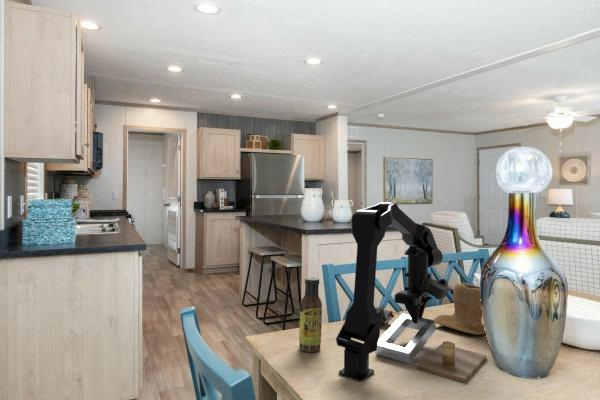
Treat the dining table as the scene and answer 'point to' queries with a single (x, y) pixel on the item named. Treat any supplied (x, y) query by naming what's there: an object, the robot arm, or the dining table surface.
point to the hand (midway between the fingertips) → (417, 322)
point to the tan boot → (464, 310)
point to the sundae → (385, 314)
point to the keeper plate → (455, 371)
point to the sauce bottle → (310, 317)
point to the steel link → (414, 346)
